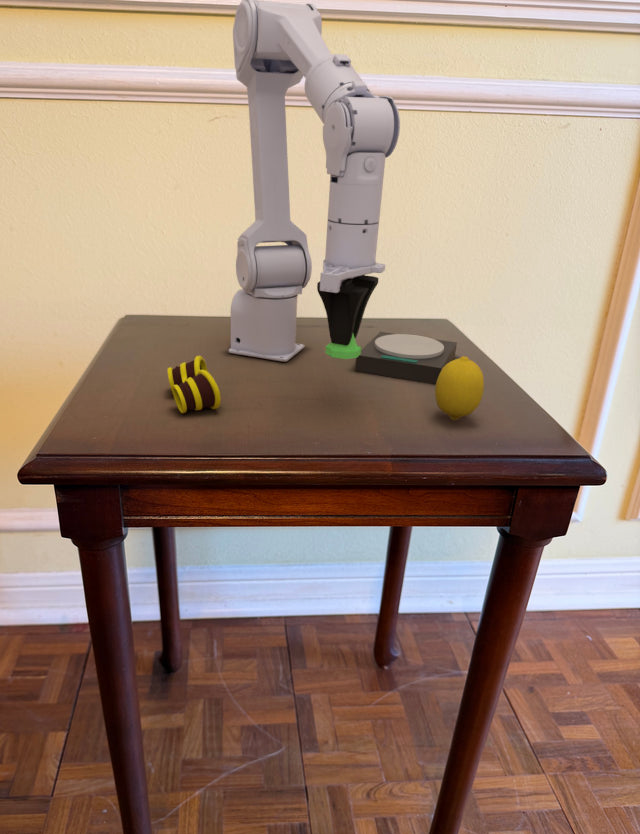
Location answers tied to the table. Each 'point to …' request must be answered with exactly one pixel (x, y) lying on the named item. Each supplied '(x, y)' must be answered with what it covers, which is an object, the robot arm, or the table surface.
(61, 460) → the table surface
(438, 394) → the lemon
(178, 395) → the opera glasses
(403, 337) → the scale
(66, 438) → the table surface
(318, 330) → the table surface
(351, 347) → the game piece
